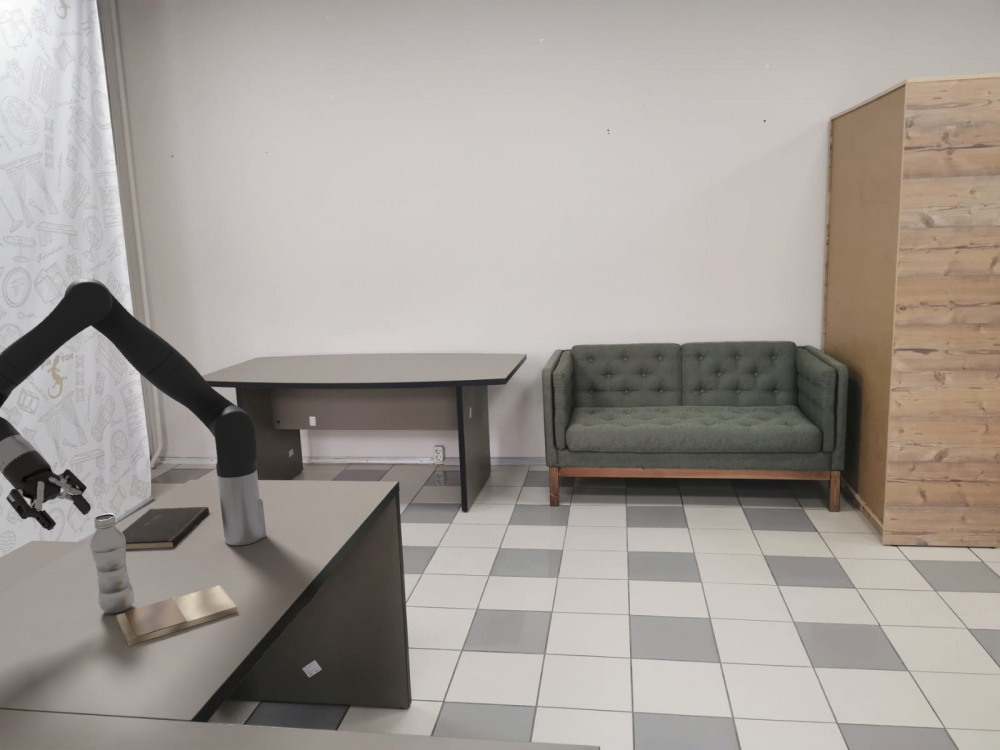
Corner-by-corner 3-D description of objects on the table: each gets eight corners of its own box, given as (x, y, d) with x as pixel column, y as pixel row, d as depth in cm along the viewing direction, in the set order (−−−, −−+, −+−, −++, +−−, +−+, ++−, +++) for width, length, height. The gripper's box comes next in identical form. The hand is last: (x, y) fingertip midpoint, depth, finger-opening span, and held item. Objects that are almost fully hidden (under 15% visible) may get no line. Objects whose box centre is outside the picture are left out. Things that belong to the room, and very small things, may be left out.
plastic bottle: (122, 618, 155) (108, 523, 151) (92, 616, 157) (78, 522, 153) (143, 603, 162) (130, 511, 158) (114, 601, 163) (100, 510, 159)
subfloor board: (220, 590, 166) (219, 584, 165) (237, 611, 156) (236, 605, 156) (117, 620, 155) (116, 614, 154) (128, 645, 145) (127, 639, 145)
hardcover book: (109, 552, 190) (107, 543, 189) (151, 516, 212) (150, 508, 212) (174, 549, 190) (173, 540, 189) (209, 514, 212) (208, 506, 212)
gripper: (-6, 460, 152) (48, 521, 151) (57, 440, 165) (106, 496, 164) (-21, 484, 155) (32, 544, 153) (42, 463, 168) (91, 517, 167)
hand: (70, 519), depth 159 cm, fingers open, 8 cm apart
